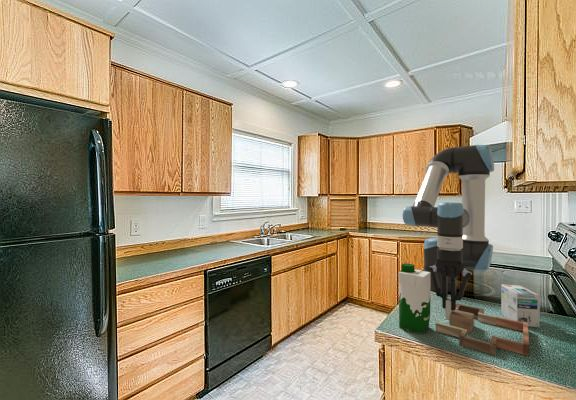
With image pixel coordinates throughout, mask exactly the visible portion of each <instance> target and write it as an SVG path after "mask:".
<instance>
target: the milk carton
mask: <svg viewBox="0 0 576 400" xmlns="http://www.w3.org/2000/svg"><path fill="white" fill-rule="evenodd" d="M400 265H401V266H400V267H401V268H400V269H401V270H399V272H398V274H397V275H398V276H397V277H398V327H399V329H403V330H406V331H409V332H414V333H416V334H417V333H418V334H420V335H423V334H425V332H426V330H427V329H428V328H429V327H430V319H431V295H432V294H431V291H432V290H431V282H430V272H426V271H424V270H423V269H422V270H421V269H415V264H412V263H401V264H400Z"/></svg>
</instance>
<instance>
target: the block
mask: <svg viewBox="0 0 576 400" xmlns="http://www.w3.org/2000/svg"><path fill="white" fill-rule="evenodd" d="M474 322H475V319H474V314H472V313H468V312H463V311H459V310H455V311H453V310H452V312H451V313H450V321H449V325H451V326H455V327H459V328H463V329H467V330H468V333H472V331H473V329H474V327H475V323H474Z"/></svg>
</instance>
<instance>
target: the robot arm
mask: <svg viewBox="0 0 576 400" xmlns="http://www.w3.org/2000/svg"><path fill="white" fill-rule="evenodd" d="M492 151H493V150H492V148H491V146H489V145H488V144H475V145H465V146H464V145H462V146H457V147H453V146H452V147H448V148H445V149H442V150H441V151H439V152H438V153H436V154H435V155H433V156H432V158H431V159H430V160H429V161H428V163H427V164H426V168H425V176H424V179H423V180H422V183H421V185H420V188H419V190H418V192H417V194H416V198H415V199H414V202H413V204H412V206H411V205H409V206H405V207H404V209H403V211H402V221H403V223H404V225H406V226H414V227H429V228H431V227H433V228H437V229H436V230H437V234H436V235H437V236H436V237H431V238H427V239H425V240H424V244H423V245H424V247H423V271H426V272H430V282H431V291H432V292H435V294H436V295H435V296H436V297H439V298H441V300H442V301H441V302H442V305H441V306H442V309H444V310H445V320H446V321H449V322H450V313H451V312H452V310H453V311H455V309H456V304H457V302H458V301H461V300H463V297H464V295H465V290H466V286H467V284H468V281H469V279H470V277H471V276H472V275H473V272H472V271H474V272H475V271H478V272H486V271H488V270H489V269H490V266H491V262H492V259H493V252H494V246H493V244H491V243H489V242H490V241H489V239H488V238H487V236H485V230H486V229H485V227H486V223H485V221H486V218H485V217H486V180H487V179H488V178H489V177H490V175H491V173H492V172H494V170H495V161H494V157H493V156H494V155H493V152H492ZM449 174H457V177H458V179H460V180H461V202H450V201H449V202H439V203H438V205H437V206H435V205H436V202H437V200H438V197H439V194H440V191H441V189H442V186H443V183H444V180H445V178H447V177H448V176H449ZM469 270H470V271H469ZM461 273H462V276H463V278H462V281H461V284H460V287H459V290H458V292H457V279H458V278H457V277H458V276H459V275H460V274H461ZM448 293H450V298H449V294H448ZM457 293H458V294H457Z"/></svg>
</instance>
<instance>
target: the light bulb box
mask: <svg viewBox="0 0 576 400" xmlns="http://www.w3.org/2000/svg"><path fill="white" fill-rule="evenodd" d="M500 295H501V301H500V303H501V305H500V306H501V310H500V313H502V315H503V316H504V315H505V316H504V317H505V318H506V319H510V320H515V321H520V322H524V323H528V327H530V328H531V327H533V328H540V325H541V324H540V322H541V321H540V320H541V319H540V310H541V309H540V304H541V303H540V302H541V301H540V298H541V297H540V294H538V293H536V292H534V291H532V290H530V289H528V288H527V287H524V286H523V285H515V284H514V285H513V284H505V283H504V284H503V283H502V284H501V293H500Z"/></svg>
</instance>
